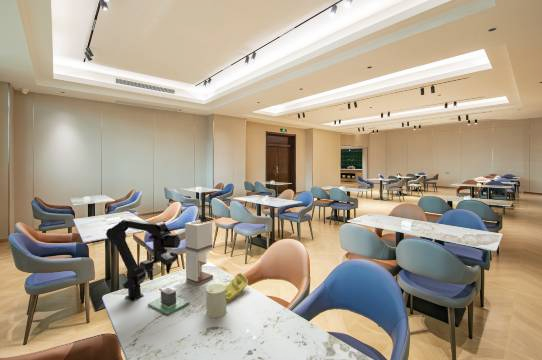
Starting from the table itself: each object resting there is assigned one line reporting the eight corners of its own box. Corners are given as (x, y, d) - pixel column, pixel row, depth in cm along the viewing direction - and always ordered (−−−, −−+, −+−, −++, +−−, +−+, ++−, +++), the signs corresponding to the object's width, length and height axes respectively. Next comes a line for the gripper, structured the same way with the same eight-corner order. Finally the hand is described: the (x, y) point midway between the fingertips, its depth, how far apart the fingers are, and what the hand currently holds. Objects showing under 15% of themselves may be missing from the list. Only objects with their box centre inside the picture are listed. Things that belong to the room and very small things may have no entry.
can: (202, 312, 123) (202, 287, 123) (218, 304, 130) (218, 281, 130) (214, 320, 117) (213, 294, 116) (230, 312, 124) (230, 287, 123)
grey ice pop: (156, 300, 133) (155, 288, 133) (163, 297, 136) (162, 285, 136) (169, 306, 127) (168, 294, 127) (176, 302, 130) (175, 291, 130)
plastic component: (227, 299, 131) (214, 287, 135) (223, 310, 133) (210, 297, 137) (251, 281, 147) (238, 271, 152) (247, 291, 150) (234, 280, 154)
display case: (198, 285, 151) (197, 225, 149) (186, 281, 157) (184, 223, 155) (212, 278, 161) (211, 221, 159) (200, 274, 167) (199, 219, 165)
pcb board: (148, 305, 130) (147, 297, 130) (169, 295, 140) (168, 288, 140) (168, 315, 121) (167, 307, 121) (189, 303, 131) (188, 296, 131)
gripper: (151, 255, 122) (152, 287, 123) (184, 244, 138) (185, 273, 139) (138, 250, 128) (139, 282, 129) (171, 241, 144) (171, 269, 145)
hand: (160, 276), depth 135 cm, fingers open, 9 cm apart
